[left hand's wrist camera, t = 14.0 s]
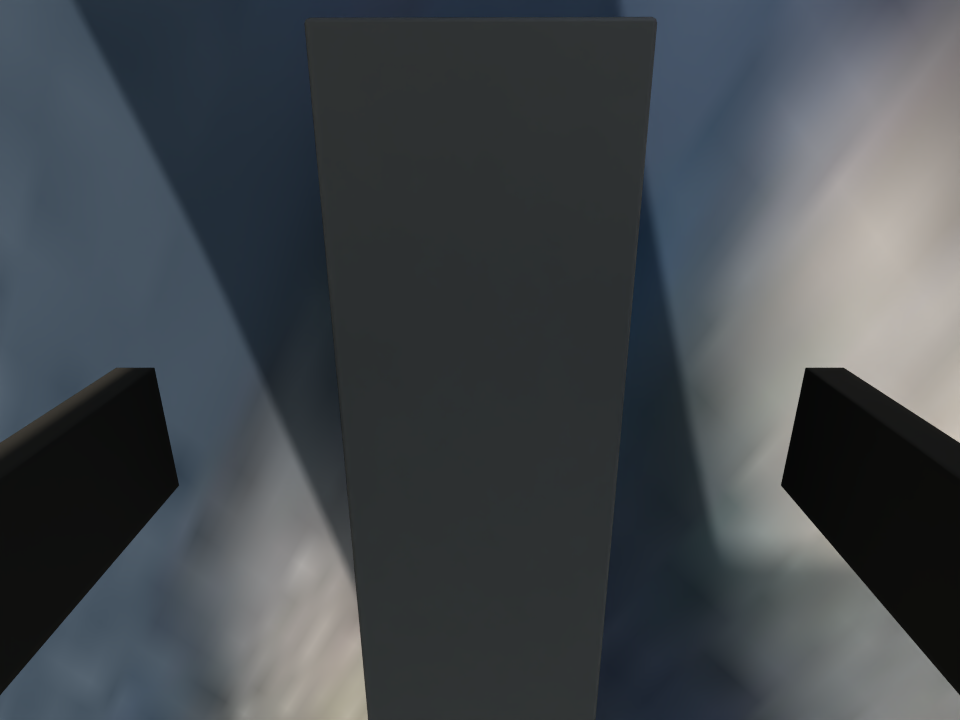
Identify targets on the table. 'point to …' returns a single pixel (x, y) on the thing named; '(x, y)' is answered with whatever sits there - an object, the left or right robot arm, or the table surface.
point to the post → (481, 343)
